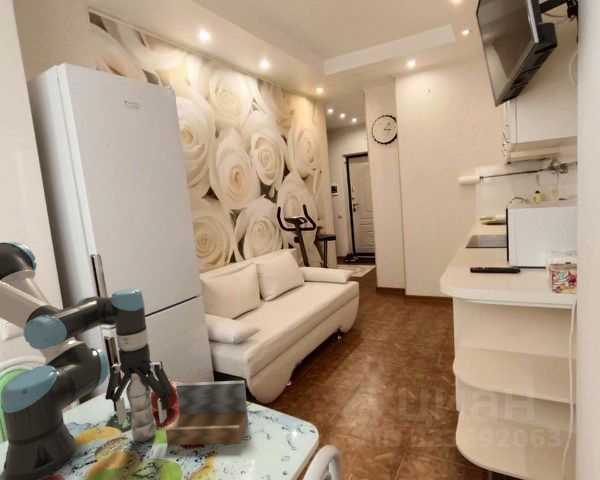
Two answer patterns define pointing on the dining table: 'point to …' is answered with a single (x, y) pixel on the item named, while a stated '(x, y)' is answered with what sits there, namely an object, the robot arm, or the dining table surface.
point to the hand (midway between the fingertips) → (143, 420)
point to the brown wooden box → (209, 413)
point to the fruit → (171, 399)
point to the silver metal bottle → (140, 409)
